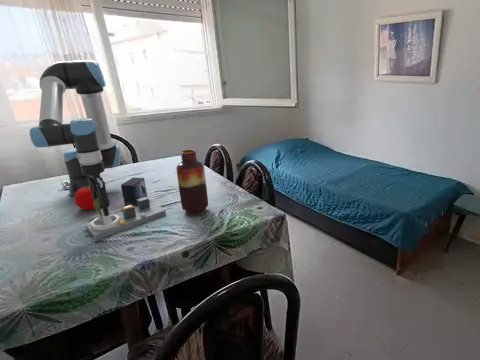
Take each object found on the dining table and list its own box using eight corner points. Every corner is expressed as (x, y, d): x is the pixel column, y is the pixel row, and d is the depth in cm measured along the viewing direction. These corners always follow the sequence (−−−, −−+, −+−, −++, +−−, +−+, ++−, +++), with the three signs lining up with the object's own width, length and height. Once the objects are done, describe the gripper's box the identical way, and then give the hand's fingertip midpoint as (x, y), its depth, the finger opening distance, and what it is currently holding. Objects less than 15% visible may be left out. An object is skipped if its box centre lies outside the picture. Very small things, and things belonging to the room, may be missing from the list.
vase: (213, 207, 128) (207, 148, 119) (202, 218, 118) (194, 155, 110) (190, 205, 132) (182, 147, 123) (177, 216, 122) (168, 154, 113)
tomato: (72, 212, 133) (66, 190, 130) (93, 201, 144) (88, 180, 141) (91, 214, 130) (85, 192, 126) (111, 203, 140) (106, 182, 137)
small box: (137, 206, 134) (132, 185, 131) (124, 206, 136) (119, 185, 132) (148, 197, 144) (144, 177, 141) (136, 197, 145) (132, 177, 142)
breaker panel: (86, 228, 117) (84, 220, 116) (152, 205, 134) (151, 198, 133) (96, 240, 108) (93, 231, 107) (166, 214, 124) (164, 206, 123)
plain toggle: (138, 207, 128) (136, 199, 126) (147, 204, 130) (145, 196, 129) (141, 209, 125) (139, 201, 124) (150, 206, 128) (148, 198, 127)
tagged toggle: (123, 216, 120) (121, 207, 118) (133, 213, 122) (131, 204, 121) (126, 219, 118) (124, 209, 116) (136, 215, 120) (134, 206, 118)
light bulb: (100, 218, 117) (95, 194, 114) (115, 216, 118) (109, 193, 114) (95, 224, 112) (89, 200, 109) (110, 223, 113) (104, 199, 109)
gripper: (73, 160, 112) (88, 216, 119) (87, 169, 98) (102, 231, 106) (94, 156, 116) (107, 210, 124) (110, 164, 103) (123, 224, 110)
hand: (105, 220), depth 115 cm, fingers closed on light bulb, 5 cm apart
